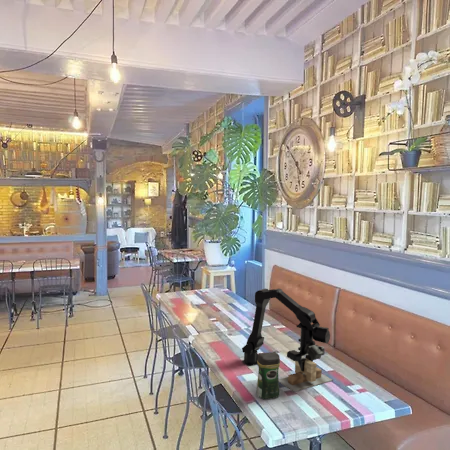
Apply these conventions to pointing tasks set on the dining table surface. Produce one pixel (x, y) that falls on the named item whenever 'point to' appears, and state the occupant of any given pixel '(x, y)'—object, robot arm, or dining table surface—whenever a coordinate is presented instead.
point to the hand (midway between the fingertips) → (305, 370)
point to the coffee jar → (268, 375)
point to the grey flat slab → (303, 381)
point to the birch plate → (307, 370)
